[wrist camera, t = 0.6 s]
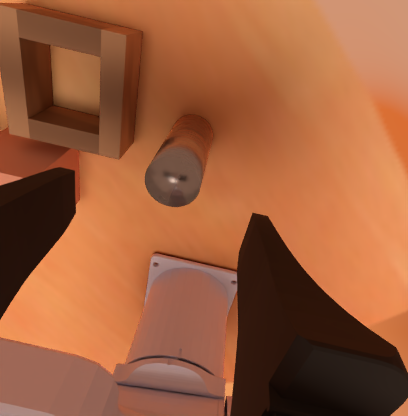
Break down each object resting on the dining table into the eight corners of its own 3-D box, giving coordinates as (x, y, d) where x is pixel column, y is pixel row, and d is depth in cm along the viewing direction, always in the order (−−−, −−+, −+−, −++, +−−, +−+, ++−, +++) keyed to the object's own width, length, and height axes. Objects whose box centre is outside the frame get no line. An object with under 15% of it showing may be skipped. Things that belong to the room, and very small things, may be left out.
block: (79, 199, 26) (38, 247, 21) (19, 185, 26) (-38, 229, 20) (78, 142, 23) (30, 180, 18) (11, 126, 23) (-57, 160, 18)
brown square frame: (133, 142, 22) (119, 159, 20) (36, 119, 22) (9, 133, 20) (142, 31, 19) (126, 35, 16) (25, 3, 18) (-10, 2, 16)
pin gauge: (208, 158, 22) (194, 212, 17) (169, 149, 22) (142, 199, 16) (217, 120, 21) (205, 164, 15) (175, 110, 21) (147, 150, 15)
